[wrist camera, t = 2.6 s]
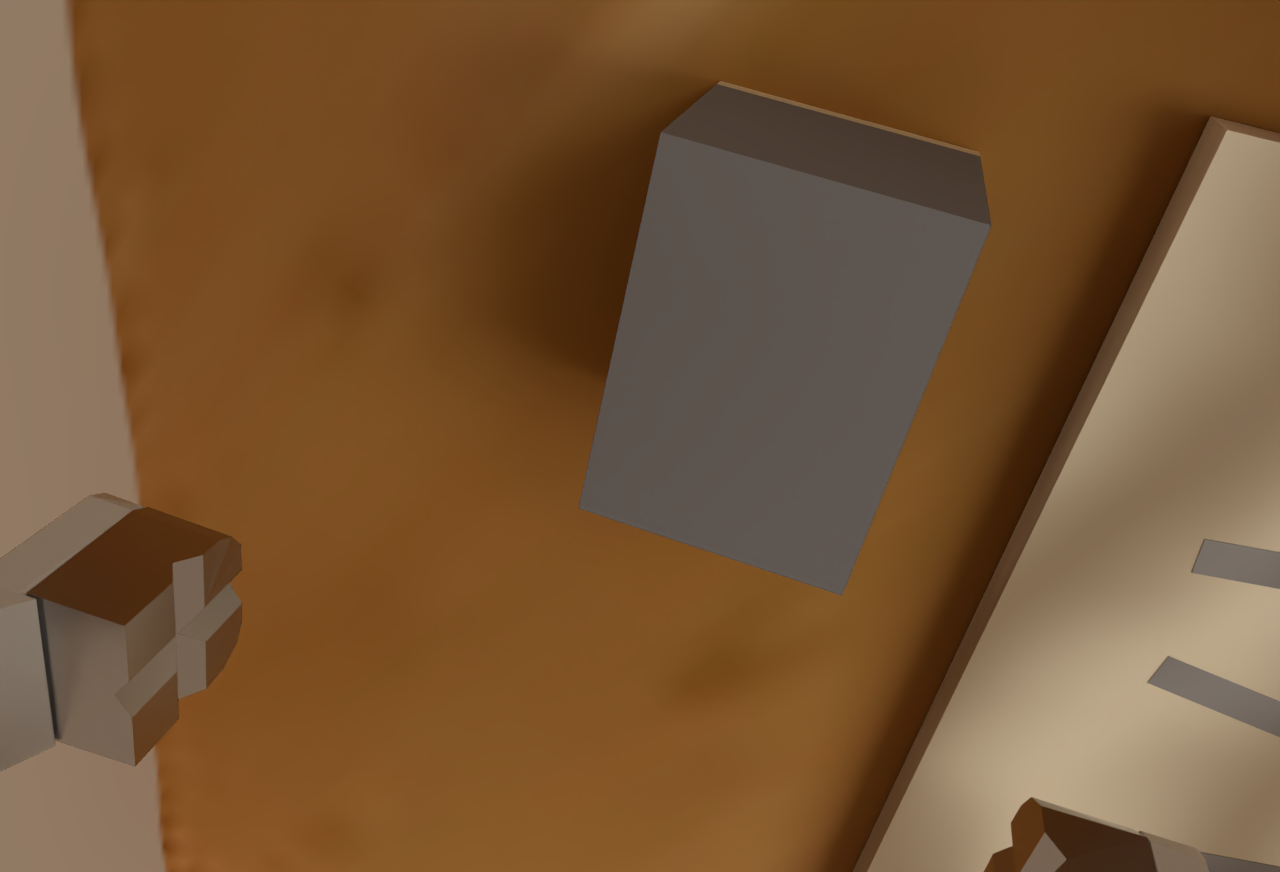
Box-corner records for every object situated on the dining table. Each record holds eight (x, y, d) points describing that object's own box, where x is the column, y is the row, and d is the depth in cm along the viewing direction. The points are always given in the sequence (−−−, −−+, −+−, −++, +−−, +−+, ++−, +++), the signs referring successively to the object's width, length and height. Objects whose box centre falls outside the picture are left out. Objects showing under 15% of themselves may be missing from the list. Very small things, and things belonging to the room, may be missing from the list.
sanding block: (979, 150, 19) (990, 225, 15) (860, 461, 22) (842, 595, 18) (721, 79, 19) (660, 132, 15) (645, 393, 23) (577, 508, 19)
